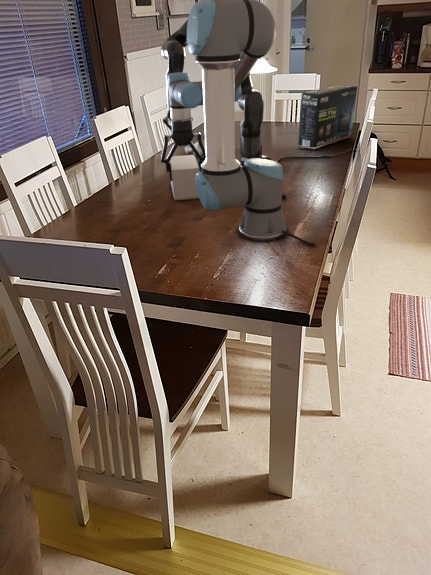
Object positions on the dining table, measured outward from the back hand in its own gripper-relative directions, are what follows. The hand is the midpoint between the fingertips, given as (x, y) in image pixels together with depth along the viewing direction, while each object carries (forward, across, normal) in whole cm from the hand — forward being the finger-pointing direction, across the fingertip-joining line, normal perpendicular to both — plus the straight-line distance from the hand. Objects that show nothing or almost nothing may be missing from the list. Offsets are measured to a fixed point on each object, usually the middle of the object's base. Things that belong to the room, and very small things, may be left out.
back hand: (179, 141), depth 191 cm
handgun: (+16, -33, +24) cm, 44 cm away
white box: (+16, 0, +15) cm, 22 cm away
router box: (+16, -80, -43) cm, 92 cm away
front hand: (+9, 0, +21) cm, 23 cm away
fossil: (+16, -14, -42) cm, 47 cm away
